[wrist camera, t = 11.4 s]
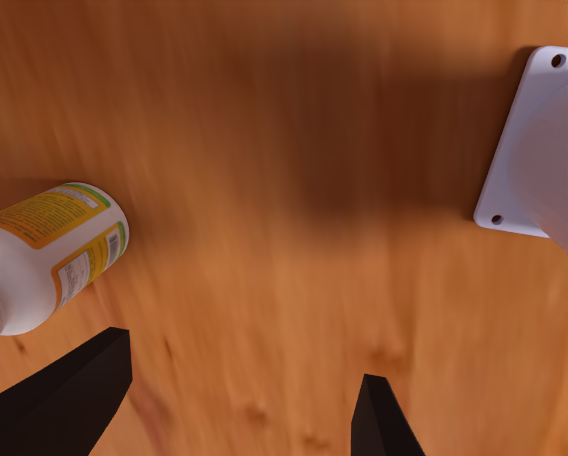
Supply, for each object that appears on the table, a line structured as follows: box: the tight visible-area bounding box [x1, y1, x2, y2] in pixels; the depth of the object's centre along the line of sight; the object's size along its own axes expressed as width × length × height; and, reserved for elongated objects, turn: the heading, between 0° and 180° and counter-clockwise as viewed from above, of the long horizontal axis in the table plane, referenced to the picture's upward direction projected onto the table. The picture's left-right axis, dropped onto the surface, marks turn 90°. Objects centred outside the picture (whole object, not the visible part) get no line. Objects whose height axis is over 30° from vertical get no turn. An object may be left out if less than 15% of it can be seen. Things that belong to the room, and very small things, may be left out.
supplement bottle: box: [0, 182, 129, 335], centre depth 18 cm, size 5×5×10 cm
